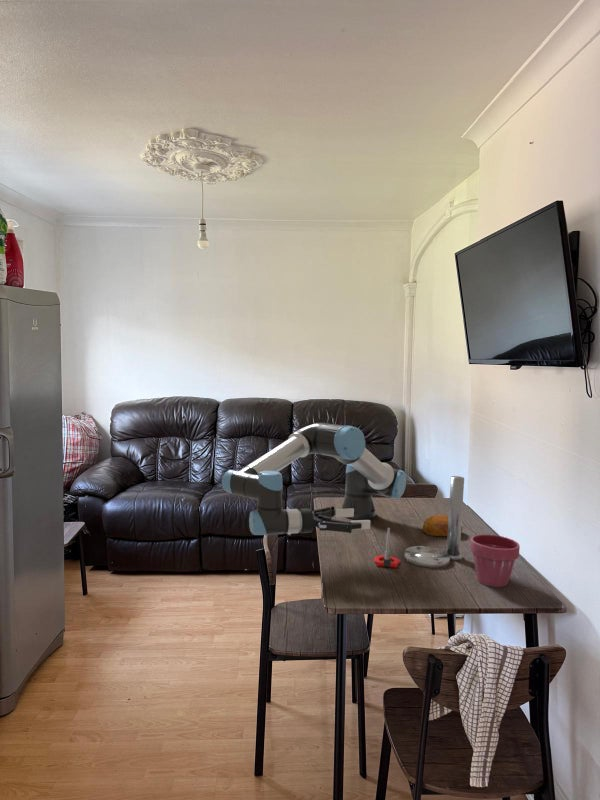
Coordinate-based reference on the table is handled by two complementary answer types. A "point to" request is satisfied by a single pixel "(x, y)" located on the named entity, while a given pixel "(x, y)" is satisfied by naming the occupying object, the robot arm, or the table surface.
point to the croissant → (437, 525)
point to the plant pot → (494, 558)
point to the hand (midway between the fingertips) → (361, 518)
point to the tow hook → (387, 556)
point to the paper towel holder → (440, 557)
